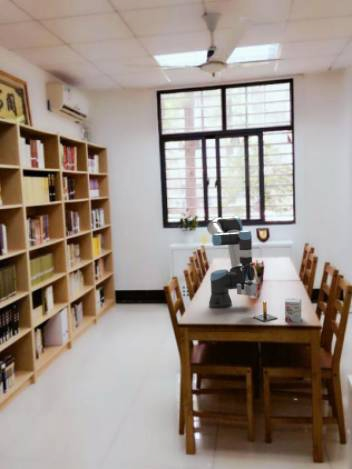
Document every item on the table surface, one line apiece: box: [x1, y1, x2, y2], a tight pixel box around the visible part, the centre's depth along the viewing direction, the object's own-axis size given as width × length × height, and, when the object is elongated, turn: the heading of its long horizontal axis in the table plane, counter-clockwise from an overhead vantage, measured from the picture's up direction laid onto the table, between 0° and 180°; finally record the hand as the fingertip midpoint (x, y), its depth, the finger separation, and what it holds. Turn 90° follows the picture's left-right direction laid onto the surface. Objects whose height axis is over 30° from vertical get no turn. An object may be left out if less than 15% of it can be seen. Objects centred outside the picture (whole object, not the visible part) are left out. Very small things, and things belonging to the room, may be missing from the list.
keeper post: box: [252, 301, 278, 323], centre depth 257 cm, size 10×10×10 cm
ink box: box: [284, 297, 302, 323], centre depth 251 cm, size 9×9×12 cm
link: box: [236, 281, 258, 297], centre depth 266 cm, size 9×9×6 cm
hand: (247, 292), depth 267 cm, fingers closed on link, 9 cm apart
